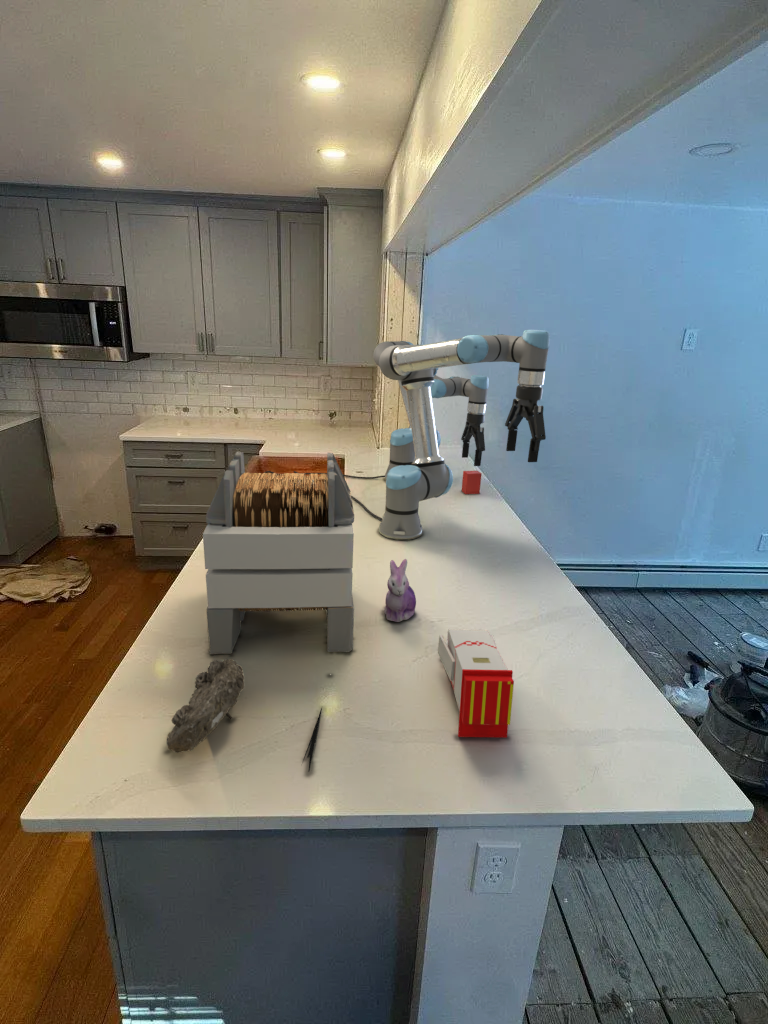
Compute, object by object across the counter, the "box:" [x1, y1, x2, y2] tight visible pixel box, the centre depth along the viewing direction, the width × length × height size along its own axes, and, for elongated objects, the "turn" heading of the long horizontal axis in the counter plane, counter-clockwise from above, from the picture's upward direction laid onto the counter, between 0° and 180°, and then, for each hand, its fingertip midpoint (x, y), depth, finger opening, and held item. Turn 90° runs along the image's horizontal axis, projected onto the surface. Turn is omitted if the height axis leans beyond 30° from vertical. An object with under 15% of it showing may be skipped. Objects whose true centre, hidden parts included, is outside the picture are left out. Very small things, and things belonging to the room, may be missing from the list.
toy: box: [437, 628, 515, 738], centre depth 117 cm, size 12×13×30 cm
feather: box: [301, 673, 332, 771], centre depth 108 cm, size 2×28×2 cm
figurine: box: [384, 558, 417, 623], centre depth 145 cm, size 9×10×15 cm
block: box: [461, 470, 483, 495], centre depth 248 cm, size 5×7×9 cm
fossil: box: [166, 658, 245, 754], centre depth 106 cm, size 22×10×15 cm
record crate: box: [202, 451, 355, 655], centre depth 137 cm, size 34×33×41 cm
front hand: (521, 456), depth 173 cm, fingers open, 13 cm apart
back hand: (470, 461), depth 247 cm, fingers open, 13 cm apart
